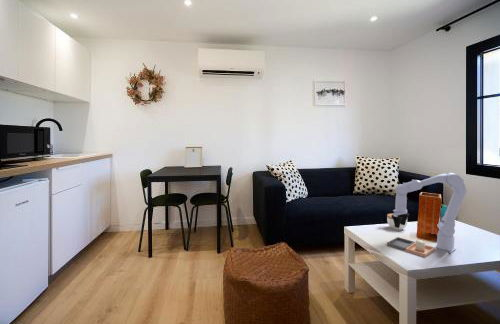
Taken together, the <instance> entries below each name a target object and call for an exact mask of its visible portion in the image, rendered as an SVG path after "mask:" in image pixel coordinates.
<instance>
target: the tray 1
mask: <svg viewBox="0 0 500 324" xmlns="http://www.w3.org/2000/svg"><path fill="white" fill-rule="evenodd" d="M415 242H416V241H413V240H409V239H406V238H403V237H399V236H396V237H394V238H393V239H391V240H389V241H387V243H386V246H388V247H392V248H395V249H398V250H400V251H404V252H406V248H407V247H409V246H410V245H412V244H414V243H415Z"/></svg>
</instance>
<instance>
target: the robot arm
mask: <svg viewBox="0 0 500 324" xmlns="http://www.w3.org/2000/svg"><path fill="white" fill-rule="evenodd" d="M436 183H441V184H448V185H449V186H450V188H452V190H453V193H452V195H451V197H450V200H449V202H448V205H447V210H446V213H445V215H444V217H443V218H442V219H441V221H440V222H438V224H437V227H438V228H439V231H438V233H436V235H437V236H436V238H437V239H436V247H437V248H438V249H439V250H443V251H448V252H447V253H448V254H452V253H453V252H454V251H456V250H457V248H456V247H455V236H454V235H455V232H456V229H455V226H456V219H457V216H458V213H459V211H460V209H461V207H462V204H463V201H464V200H465V199H464V198H465V196H466V194H467V189H466V188H467V187H466V185H465V182H464V179H463V178H462V177H461V176H460V175H459V174H456V173H454V172H445V173H441V174H438V175H434V176H431V177H429V178H425V179H423V180H418V179H411V181H408V182H402V184H401V183H399V184H397V185H396V187H395V192H396V193H395V204H394V205H395V206H394V208H395V209H393V210H392V212H393V213H392V214H393V215H392V218H393V221H394V224H395V227H397V228H399V227H400V224H401V225H405V223H406V220H407V221H408V219H407V218H409V216H410V213H408V209H407V202H408V201H407V200H408V197H407V195H408V193H411V192H414V191H418V190H421V189H422V188H423V187H425V186H429V185H432V184H436Z"/></svg>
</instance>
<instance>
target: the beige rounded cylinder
mask: <svg viewBox="0 0 500 324" xmlns="http://www.w3.org/2000/svg"><path fill="white" fill-rule="evenodd" d="M415 242H416V247H415V250H416V251H419V252H425V245H426V242H425V241H424V240H421V239H420V240H419V239H417V240H415Z"/></svg>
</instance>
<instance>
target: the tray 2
mask: <svg viewBox="0 0 500 324" xmlns="http://www.w3.org/2000/svg"><path fill="white" fill-rule="evenodd" d="M414 242H415V243H414V244H412V245H410V246H409V247H407V248H406V250H405V252H408V253H411V254H414V255H417V256H421V257H423V258H427V257H429V255H430V254H432V253H434V251H436V247H434V246H432V245H427V244H425V252H419V251H416V250H415V247H416V241H414Z"/></svg>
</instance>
